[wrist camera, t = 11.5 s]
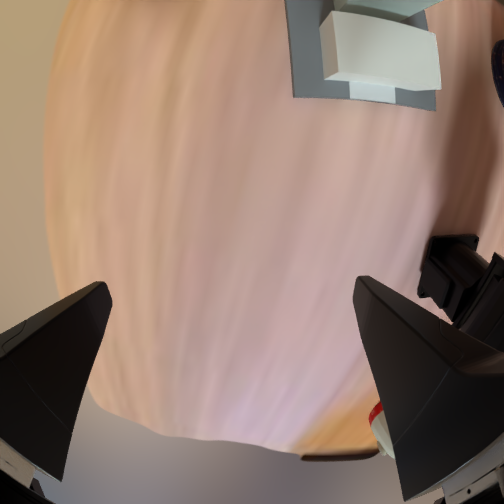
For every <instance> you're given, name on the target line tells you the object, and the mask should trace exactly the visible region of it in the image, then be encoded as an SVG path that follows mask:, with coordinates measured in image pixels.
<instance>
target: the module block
mask: <svg viewBox="0 0 504 504" xmlns="http://www.w3.org/2000/svg"><path fill="white" fill-rule="evenodd" d="M441 1H443V0H333V2H334V8H335V11H339V12H347V13H354V14H360V15H366V16H371V17H376V18H381V19H385V20H390V21H394V22H400V21H402V20H404V19H406V18H408V17H410V16H412V15H414V14H416V13H418V12H420V11H422V10H424V9H426V8H428V7H430V6H432V5H434V4H436V3H439V2H441Z"/></svg>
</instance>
